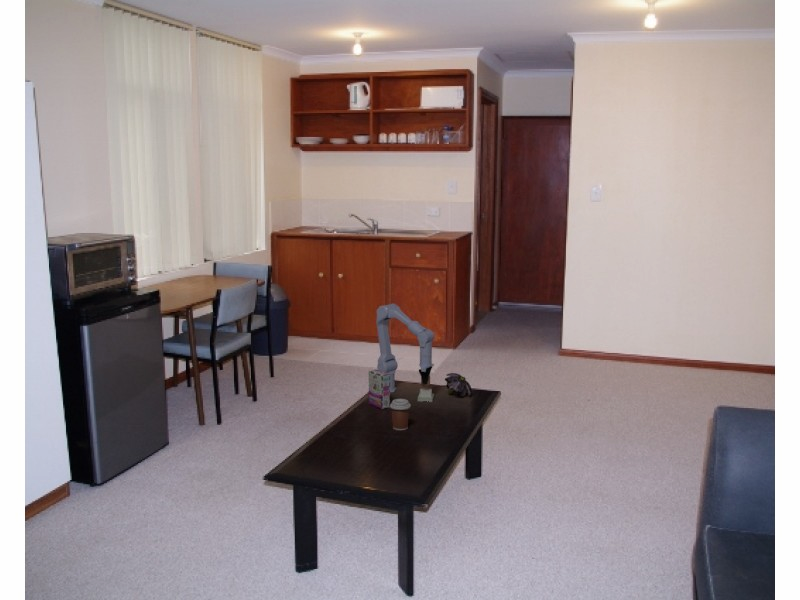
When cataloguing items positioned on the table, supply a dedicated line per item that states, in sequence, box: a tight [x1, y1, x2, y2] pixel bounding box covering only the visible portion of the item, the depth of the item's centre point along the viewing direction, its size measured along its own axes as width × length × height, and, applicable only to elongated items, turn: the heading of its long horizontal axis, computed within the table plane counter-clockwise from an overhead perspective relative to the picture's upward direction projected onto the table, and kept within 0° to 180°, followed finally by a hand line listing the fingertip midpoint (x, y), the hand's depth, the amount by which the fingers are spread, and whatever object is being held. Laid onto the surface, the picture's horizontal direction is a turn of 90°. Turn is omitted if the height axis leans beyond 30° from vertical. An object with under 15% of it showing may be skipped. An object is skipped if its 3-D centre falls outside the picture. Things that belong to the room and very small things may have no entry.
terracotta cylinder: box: [420, 375, 431, 388], centre depth 349 cm, size 4×4×4 cm
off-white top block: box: [419, 387, 433, 397], centre depth 350 cm, size 6×6×2 cm
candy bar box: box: [368, 369, 391, 410], centre depth 339 cm, size 11×5×16 cm, turn 37°
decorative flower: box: [444, 372, 473, 399], centre depth 356 cm, size 15×12×15 cm
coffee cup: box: [389, 398, 412, 431], centre depth 310 cm, size 9×9×12 cm
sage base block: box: [417, 392, 435, 403], centre depth 350 cm, size 7×7×2 cm
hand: (425, 382), depth 349 cm, fingers closed on terracotta cylinder, 4 cm apart
